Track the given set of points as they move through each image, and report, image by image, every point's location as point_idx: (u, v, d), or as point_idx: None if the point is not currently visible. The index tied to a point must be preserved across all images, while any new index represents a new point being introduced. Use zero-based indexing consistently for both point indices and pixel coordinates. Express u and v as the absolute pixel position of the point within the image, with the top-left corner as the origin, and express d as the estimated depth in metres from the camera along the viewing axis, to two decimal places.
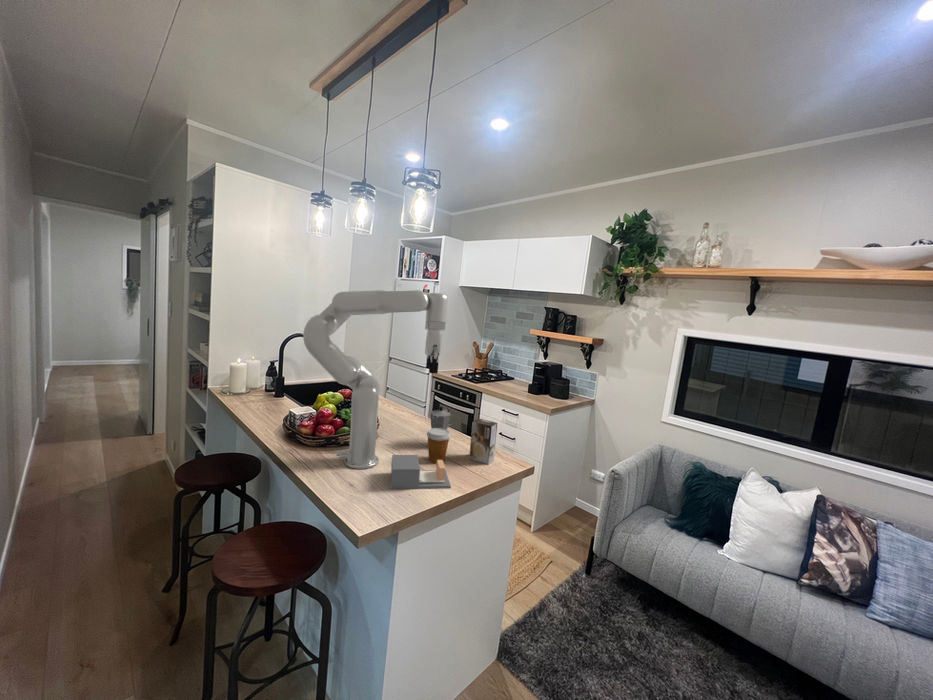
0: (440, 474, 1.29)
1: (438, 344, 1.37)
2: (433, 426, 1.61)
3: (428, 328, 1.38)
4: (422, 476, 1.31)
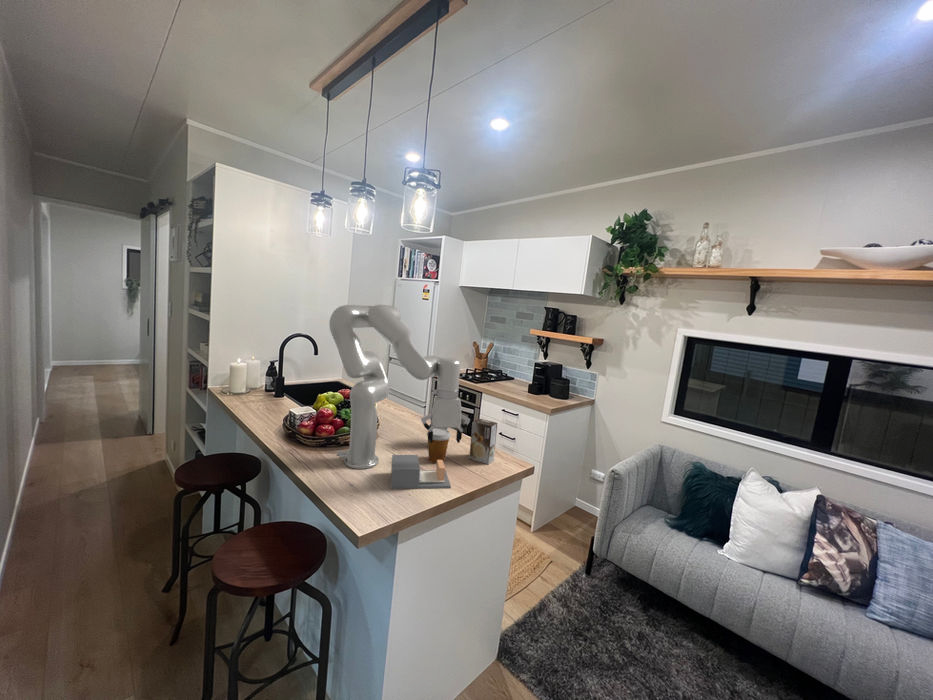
0: (440, 474, 1.29)
1: None
2: None
3: (455, 398, 1.27)
4: (422, 476, 1.31)
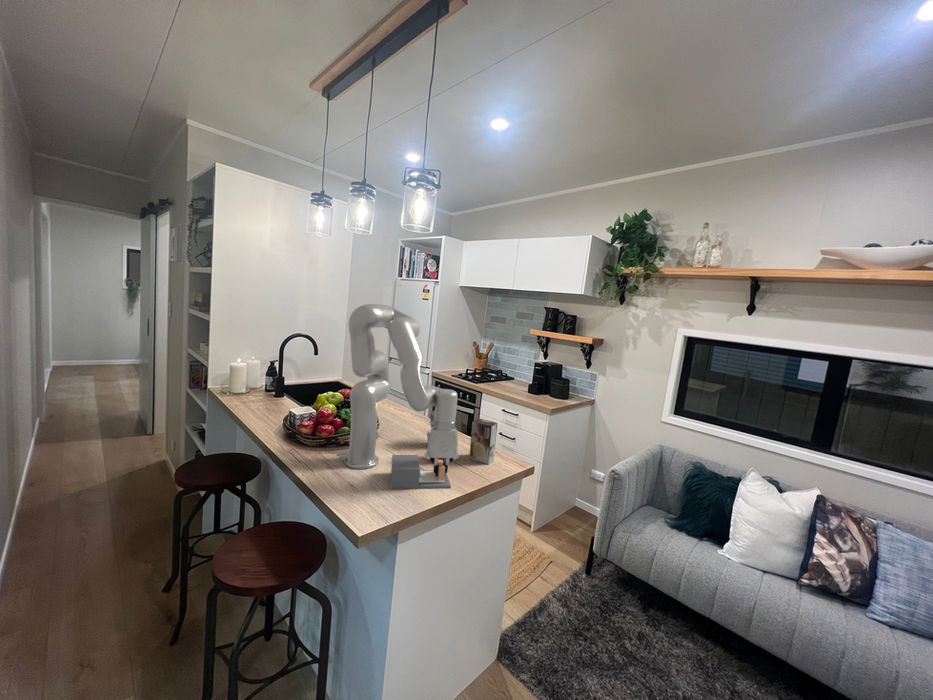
0: (440, 474, 1.29)
1: None
2: (433, 426, 1.61)
3: (452, 430, 1.28)
4: (422, 476, 1.31)
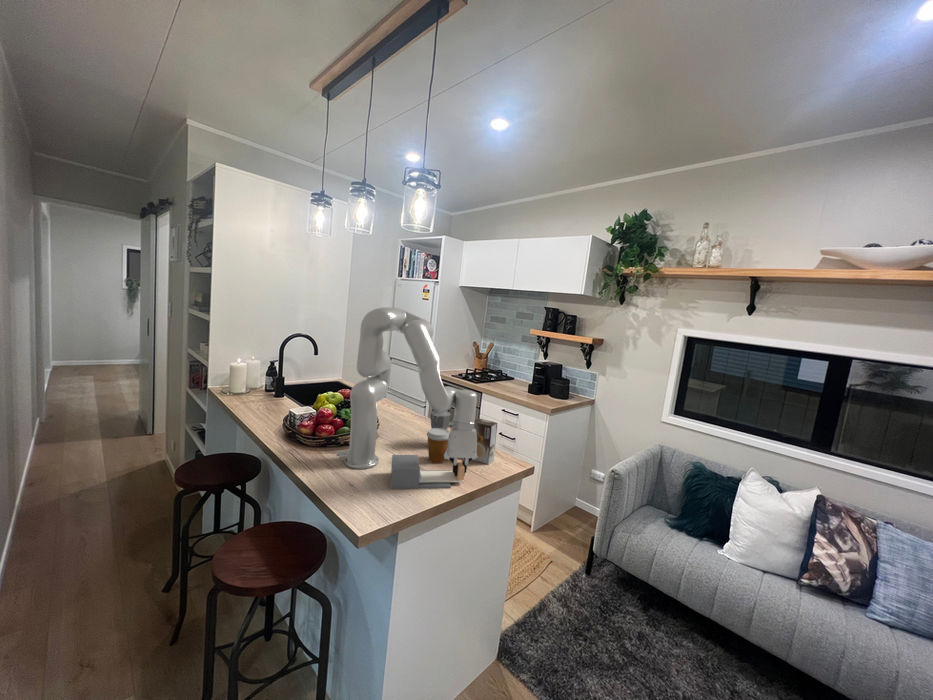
0: (460, 474, 1.30)
1: None
2: (433, 426, 1.61)
3: (471, 430, 1.30)
4: (441, 476, 1.33)
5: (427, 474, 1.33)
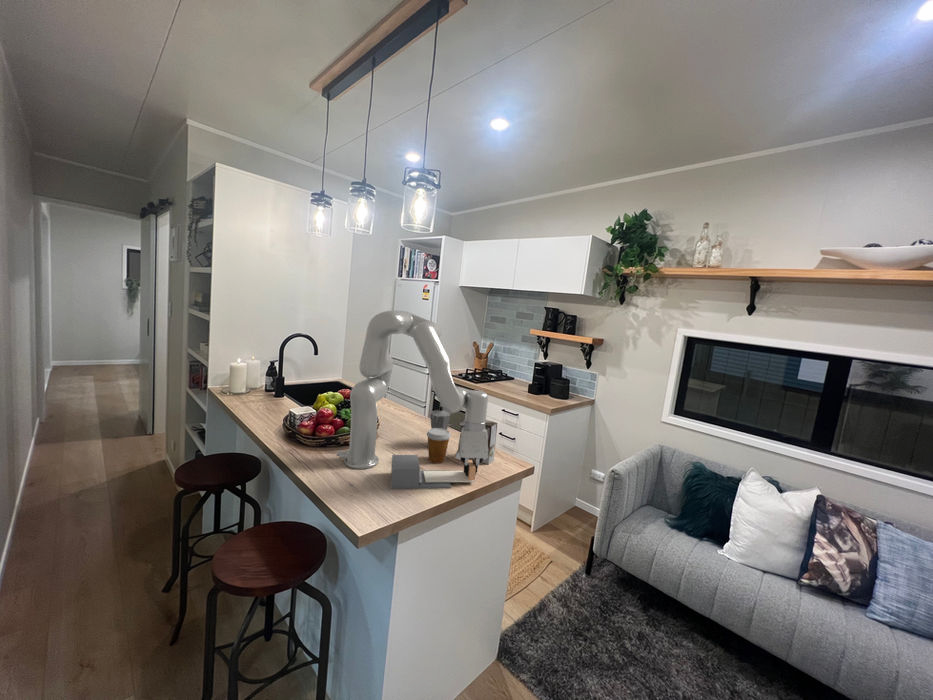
0: (471, 474, 1.31)
1: None
2: (433, 426, 1.61)
3: (483, 430, 1.31)
4: (453, 476, 1.33)
5: (438, 474, 1.34)
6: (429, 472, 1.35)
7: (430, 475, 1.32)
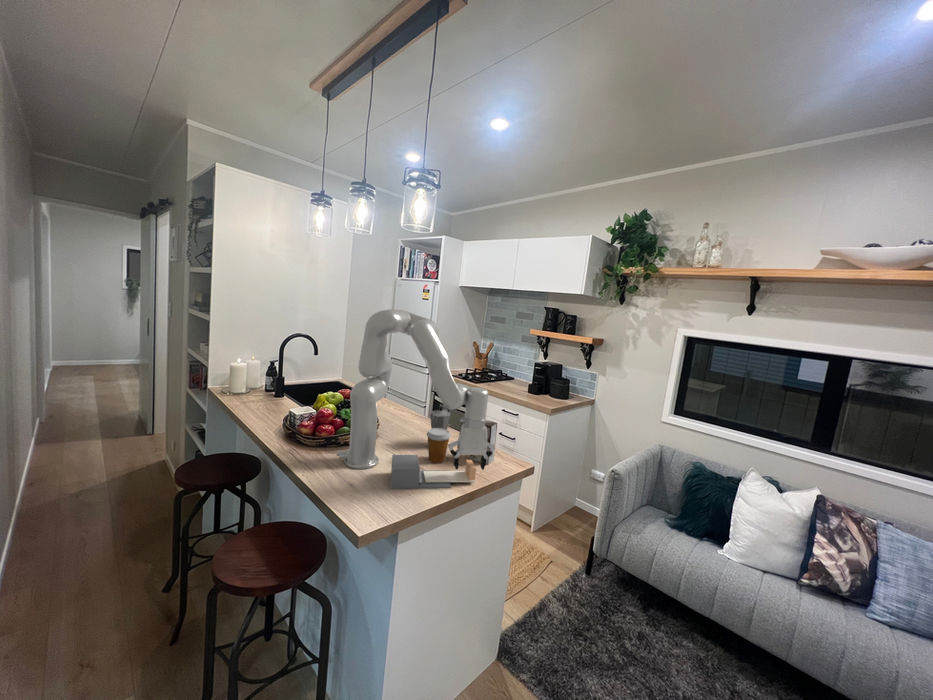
0: (471, 474, 1.31)
1: None
2: (433, 426, 1.61)
3: (482, 427, 1.31)
4: (453, 476, 1.33)
5: (438, 474, 1.34)
6: (429, 472, 1.35)
7: (430, 475, 1.32)
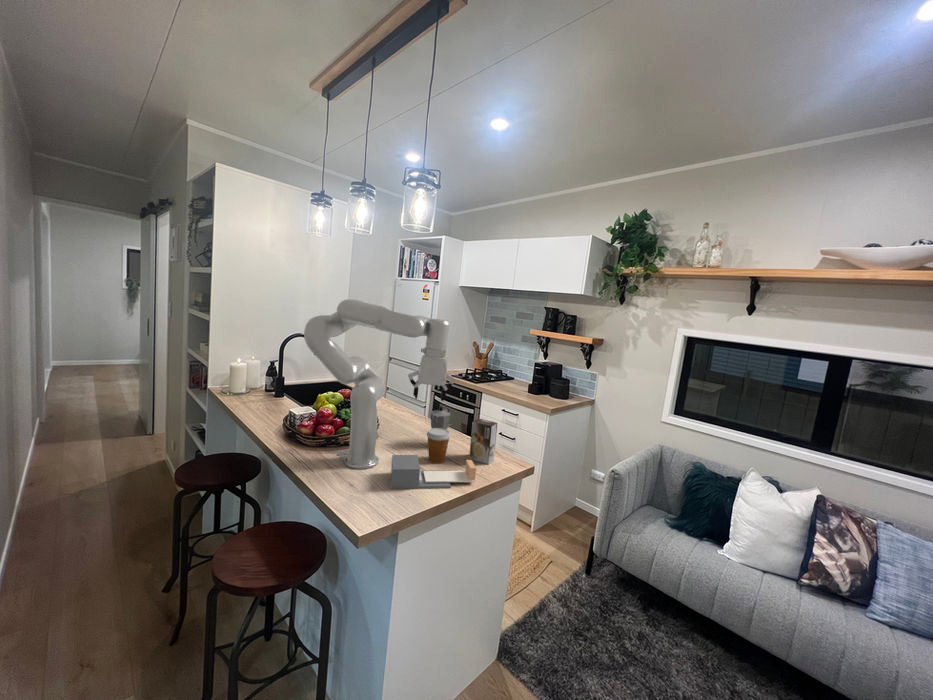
0: (471, 474, 1.31)
1: None
2: (433, 426, 1.61)
3: (442, 357, 1.33)
4: (453, 476, 1.33)
5: (438, 474, 1.34)
6: (429, 472, 1.35)
7: (430, 475, 1.32)
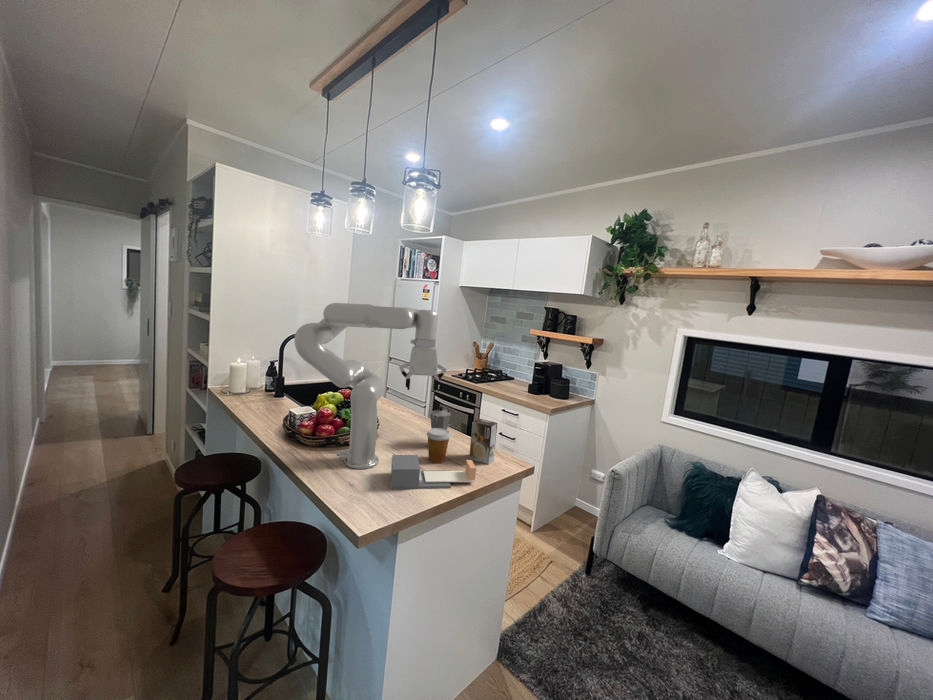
0: (471, 474, 1.31)
1: None
2: (433, 426, 1.61)
3: (432, 347, 1.34)
4: (453, 476, 1.33)
5: (438, 474, 1.34)
6: (429, 472, 1.35)
7: (430, 475, 1.32)
